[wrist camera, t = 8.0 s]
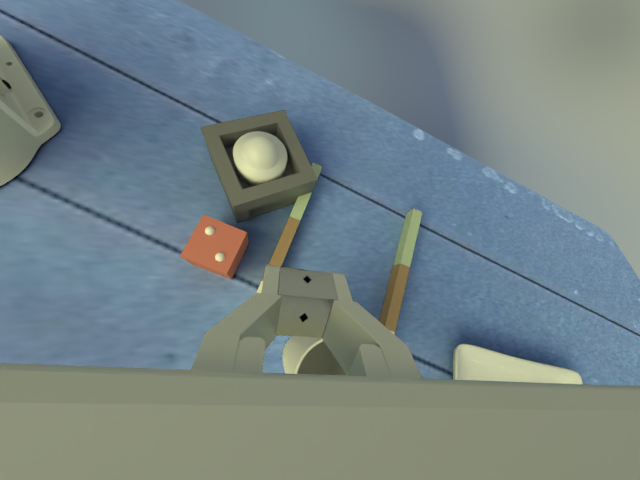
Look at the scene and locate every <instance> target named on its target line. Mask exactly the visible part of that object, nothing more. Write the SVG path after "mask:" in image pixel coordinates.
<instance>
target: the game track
mask: <svg viewBox="0 0 640 480" xmlns="http://www.w3.org/2000/svg"><path fill="white" fill-rule="evenodd" d="M311 167H312V169H313V171H314V173H315V175H316V177H317V179H318V177H319V174H320V172H321V169H322V166H320V165H318V164H316V163H312V166H311ZM311 194H312V192H311V193H308V194H305V195H302V196H299V197H298V198H297V200H296V203H295V205H294V207H293V210H292V212H291V214H290V217H289V219H288V221H287V223H286V226H285V228H284V230H283V233H282V235H281V237H280V240H279V242H278V244H277V246H276V249H275V251H274V253H273V256H272V258H271V260H270V263H269V265H273V266H279V267H280V266H282V264H283V261H284V259H285V256H286V254H287V251H288V249H289V247H290V244H291V242H292V239H293V237H294V235H295V232H296V230H297V227H298V225H299V222H300V220H301V218H302V215H303V213H304V210H305V208H306V206H307V203H308V201H309V198H310V196H311ZM421 217H422V212H421V211H418V210H416V209H412V210H411V211H409V212H408V213H406V217H405V221H404V225H403V229H402V233H401V237H400V241H399V245H398V249H397V253H396V257H395V260H394V264H393V268H392V272H391V276H390V280H389V284H388V288H387V292H386V296H385V300H384V304H383V308H382V312H381V316H380V319H379V322H380V323H381V324H383V325H384V326H385V327H386V328H387V329H388V330H390V331H391V332H392V333H393V334H395V330H396V326H397V321H398V317H399V313H400V308H401V304H402V300H403V295H404V291H405V287H406V282H407V278H408V273H409V269H410V265H411V260H412V256H413V252H414V247H415V243H416V239H417V234H418V230H419V226H420V221H421ZM263 279H264V276H263ZM263 279H262V281H261V283H260V286H259V288H258V290H257V293H261V291H262V285H263Z"/></svg>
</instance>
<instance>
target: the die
mask: <svg viewBox="0 0 640 480" xmlns="http://www.w3.org/2000/svg"><path fill="white" fill-rule="evenodd" d="M248 244H249V241H248V235H247V232H245V231H243V230H240V229H238V228H235V227H233V226H230V225H228V224H225V223H223V222H221V221H218V220H216V219H213V218H211V217H208V216H206V215H203V216H202V218H201V220H200V222H199V223H198V225H197V227H196V229H195V230H194V232H193V234H192V236H191V237H190V239H189V241H188V243H187V245H186V246H185V248H184V250H183V252H182V253H181V255H180V256H181V257H182V258H183V259H185V260H186V261H188V262H189V263H191V264H192V265H195V266H198V267H200V268H203V269H206V270H208V271H211V272H213V273H216V274H219V275H221V276H224V277H226V278H229V279H232V278H233V276H234V274H235V272H236V269H237V267H238V265H239V263H240V261H241V259H242V257H243V255H244V253H245V251H246V248H247V246H248Z"/></svg>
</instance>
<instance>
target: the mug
mask: <svg viewBox="0 0 640 480" xmlns="http://www.w3.org/2000/svg"><path fill="white" fill-rule="evenodd" d="M322 339H323V338H315V337H304V336H291V337H290V339H289V340H288V341H287V343H286V345H285V347H284V351H283V365H284V370H285V373H289V374H316V375H344V376H348V375H347V374H346V373H345V371H344V370H343V368H342V367H341V365H340V364H339V363H338V361H337V360H336V358H335V357H334V355H333V354H332V352H331V351H330V350H329V348H328V347H327V345H326V344H325V342H324V341H323V340H322Z"/></svg>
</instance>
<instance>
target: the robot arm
mask: <svg viewBox="0 0 640 480" xmlns="http://www.w3.org/2000/svg"><path fill="white" fill-rule="evenodd" d="M41 116H42V117H41ZM60 127H61V124H60V122H59V120H58V119H57V117H56V115H55V114H54V112H53V111H52V109H51V107H50V106H49V104H48V103H47V101H46V100H45V98H44V96H43V95H42V93H41V92H40V90H39V88H38V87H37V85H36V84H35V82H34V80H33V79H32V77H31V76H30V74H29V72H28V71H27V69H26V68H25V66H24V65H23V63H22V61H21V60H20V58H19V57H18V55H17V53H16V52H15V50H14V49H13V47H12V46H11V44H10V43H9V42H8V41H7V40H6V39H4V38H3V37H2V36H1V35H0V186H1V185H3V184H5V183H7V182H8V181H10V180H11V179H13V178H14V177H15V176H17V175H18V174H19V173H20V172H21V171H22V170H24V168H25V167H26V166H27V165H28V164H29V163H30V161H31V160H32V158H33V157H34V155H35V153H36V152H37V150H38V148H39V147H40V146H41V145H42V144H43V143H44V142H46V141H47V140H48V139H50V138H51V137H52V136H54V135H55V134H56V133H57V132H58V131H59V130H60ZM276 335H284V336H304V337H315V338H323V339H322V340H323V341H324V342H325V344H326V345H327V347H328V348H329V350H330V351H331V352H332V354H333V355H334V357H335V358H336V360H337V361H338V363H339V364H340V365H341V367H342V368H343V370H344V371H345V373H346V374H347V375H348V376H344V375H316V374H289V373H262V370H263V360H264V351H265V350H266V348H267V347H268V346H269V344H270V343H271V342H272V341H273V339H274V338H275V337H276ZM0 480H640V386H617V385H589V384H562V383H535V382H507V381H480V380H452V379H424V378H422V376H421V374H420V372H419V370H418V368H417V366H416V364H415V361H414V359H413V357H412V355H411V353H410V351H409V348H408V346H407V345H406V344H405V343H403V342H402V341H401V340H400V339H399V338H398V337H396V336H395V335H394V334H393V333H392V332H391V331H390V330H388V329H387V328H386V327H385V326H384V325H383V324H381V323H380V322H379V321H378V320H377V319H376V318H375V317H373V316H372V315H371V314H370V313H369V312H368V311H366V310H365V309H364V308H363V307H362V306H361V305H360V304H358V303H357V302H353V300H352V297H351V293H350V290H349V287H348V284H347V280H346V277H345V274H343V273H334V272H331V273H330V272H320V271H310V270H304V269H296V268H289V267H281V266H280V267H279V266H273V265H266V267H265V273H264V279H263V285H262V291H261V293H256V294H255V295H254V296H252V297H251V298H250V299H248V300H247V301H246V302H245V303H243V304H242V305H241V306H239V307H238V308H237V309H236V310H234V311H233V312H232V313H230V314H229V315H228V316H227V317H225V318H224V319H223V320H221V321H220V322H219V323H218V324H216V325H215V326H214V327H212V328H211V329H210V330H208V331H207V332H206V333H205V335H204V338H203V340H202V343H201V346H200V348H199V351H198V353H197V356H196V359H195V361H194V364H193V366H192V369H191V370H179V369H151V368H124V367H97V366H69V365H42V364H14V363H0Z"/></svg>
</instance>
